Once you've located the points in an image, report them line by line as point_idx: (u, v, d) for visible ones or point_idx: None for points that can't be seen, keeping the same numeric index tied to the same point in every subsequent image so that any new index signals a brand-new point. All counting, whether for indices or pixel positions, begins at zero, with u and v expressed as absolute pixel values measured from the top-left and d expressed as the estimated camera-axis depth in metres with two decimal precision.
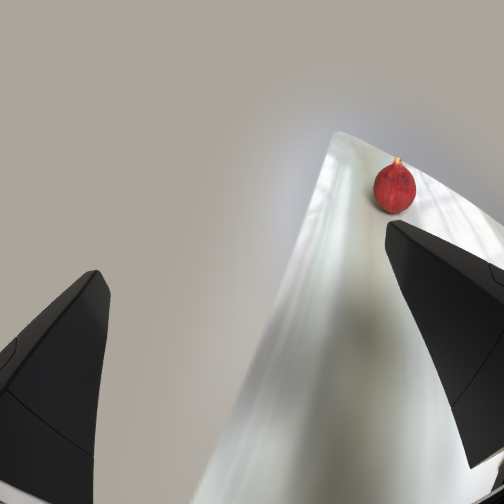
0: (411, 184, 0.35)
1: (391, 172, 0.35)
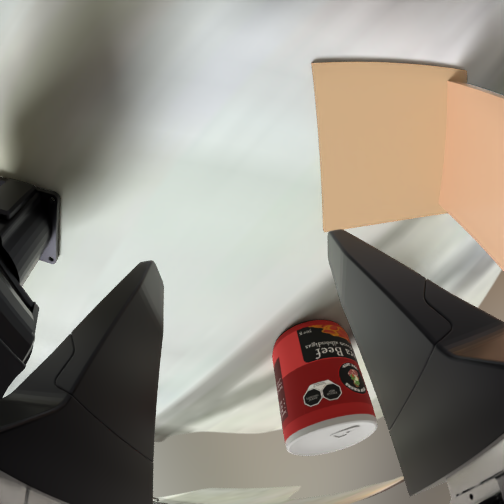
0: None
1: None
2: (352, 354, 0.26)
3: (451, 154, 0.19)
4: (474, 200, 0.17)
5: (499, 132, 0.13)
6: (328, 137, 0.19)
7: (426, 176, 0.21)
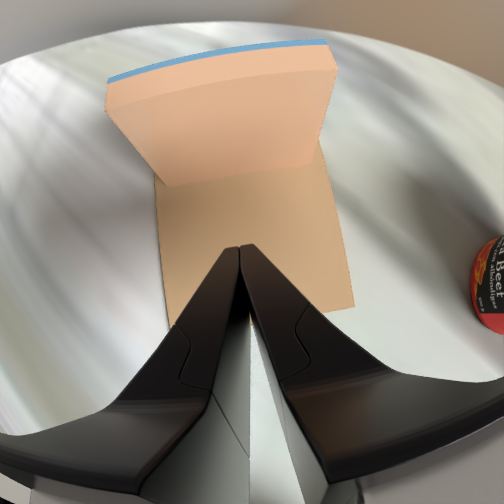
0: None
1: None
2: None
3: (243, 168, 0.20)
4: (276, 139, 0.17)
5: (176, 144, 0.16)
6: None
7: (278, 190, 0.21)
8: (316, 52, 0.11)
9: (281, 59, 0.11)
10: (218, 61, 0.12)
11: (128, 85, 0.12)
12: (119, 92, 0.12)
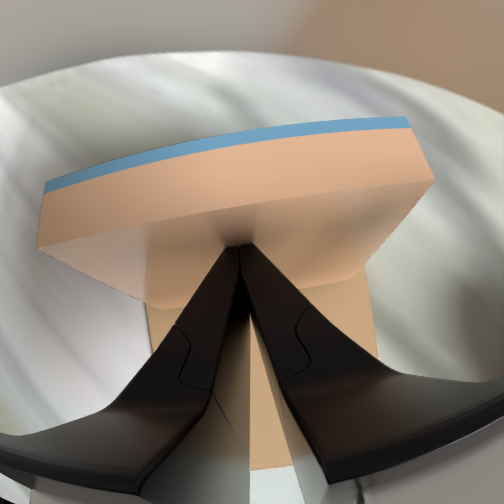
0: None
1: None
2: None
3: None
4: (311, 265, 0.12)
5: (163, 279, 0.11)
6: (262, 461, 0.15)
7: None
8: (396, 144, 0.07)
9: (340, 159, 0.07)
10: (224, 160, 0.07)
11: (71, 202, 0.07)
12: (57, 214, 0.07)
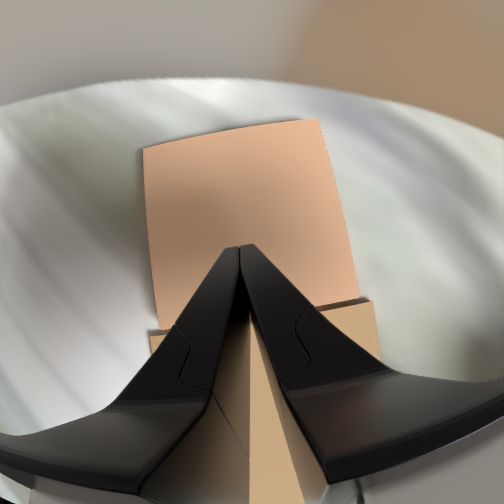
0: None
1: None
2: None
3: None
4: (294, 221, 0.16)
5: (185, 212, 0.16)
6: None
7: None
8: None
9: None
10: None
11: None
12: None
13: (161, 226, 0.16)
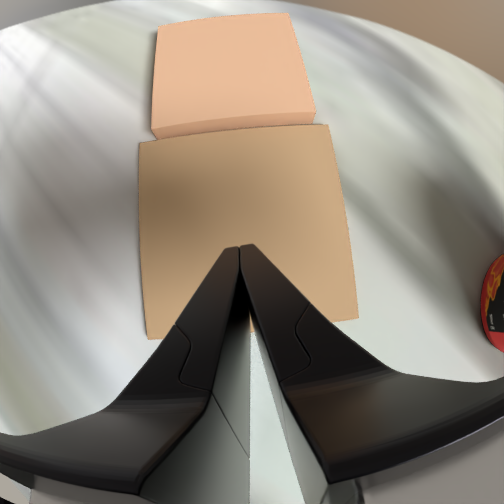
0: None
1: None
2: None
3: (238, 104, 0.18)
4: (265, 63, 0.18)
5: (184, 57, 0.18)
6: None
7: (280, 179, 0.18)
8: None
9: None
10: None
11: None
12: None
13: (165, 65, 0.18)
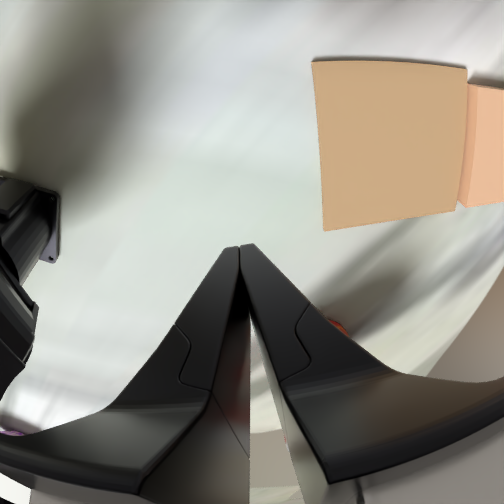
0: None
1: None
2: None
3: (481, 154, 0.18)
4: (503, 176, 0.20)
5: None
6: (328, 136, 0.19)
7: (426, 175, 0.21)
8: None
9: None
10: None
11: None
12: None
13: None
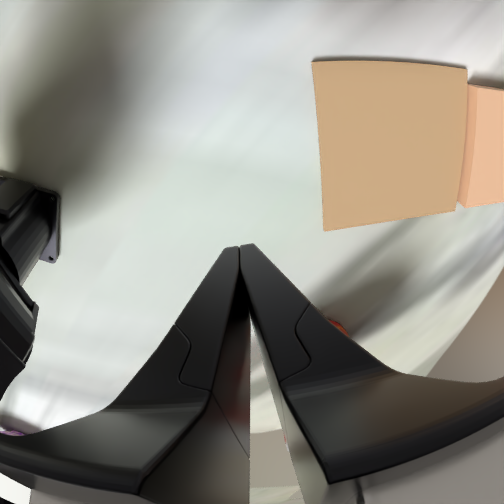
0: None
1: None
2: None
3: (480, 155, 0.19)
4: (502, 176, 0.20)
5: None
6: (328, 136, 0.19)
7: (426, 175, 0.21)
8: None
9: None
10: None
11: None
12: None
13: None
